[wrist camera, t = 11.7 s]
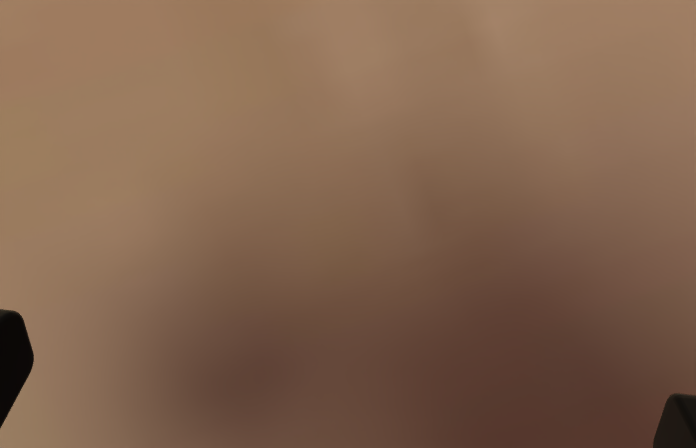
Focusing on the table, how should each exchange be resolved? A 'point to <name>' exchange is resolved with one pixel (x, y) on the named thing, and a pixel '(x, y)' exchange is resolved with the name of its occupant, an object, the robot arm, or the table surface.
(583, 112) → the table surface
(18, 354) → the robot arm
